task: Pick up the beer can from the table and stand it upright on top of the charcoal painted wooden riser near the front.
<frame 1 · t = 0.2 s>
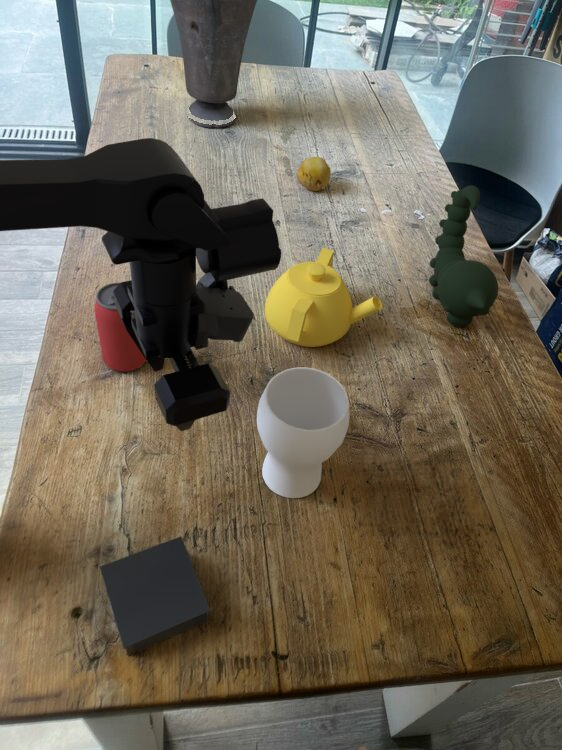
hand: (171, 398, 64), 14 cm above the table, tool pointing down, fingers open, 9 cm apart
toy figurine: (449, 300, 104), on the table
cup: (291, 473, 76), on the table
vase: (211, 117, 145), on the table
teapot: (318, 326, 96), on the table
beer can: (126, 358, 87), on the table
fruit: (311, 188, 126), on the table
riser: (156, 600, 63), on the table
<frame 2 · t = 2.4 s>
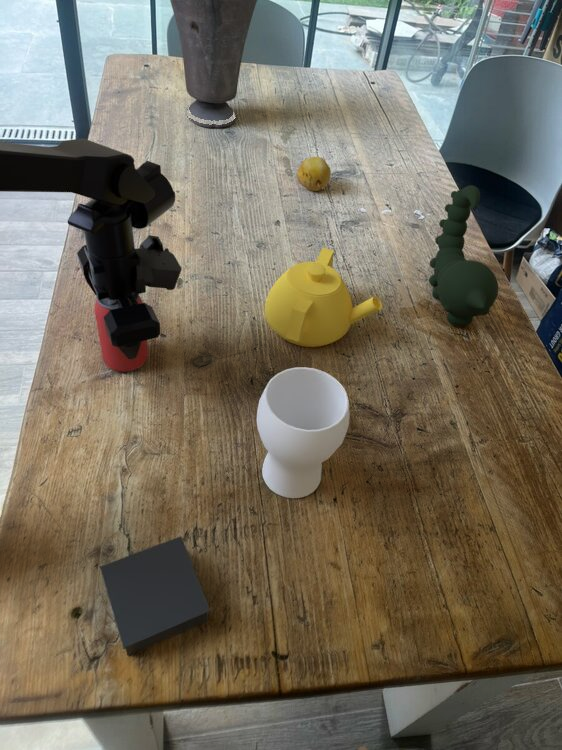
hand: (123, 336, 83), 4 cm above the table, tool pointing down
beer can: (126, 358, 87), on the table, touching gripper
everything else where it was.
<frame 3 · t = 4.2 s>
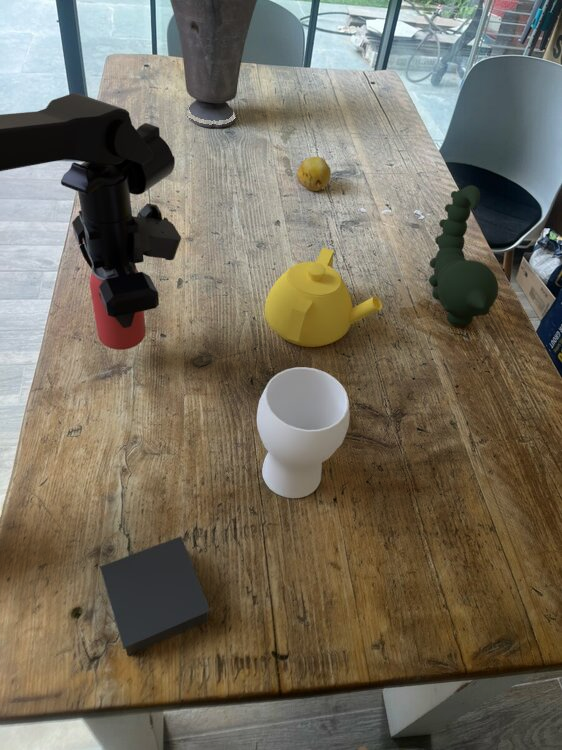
hand: (120, 311, 80), 9 cm above the table, tool pointing down, fingers closed on beer can, 6 cm apart
beer can: (122, 337, 83), point 4 cm above the table, touching gripper
everything else where it was.
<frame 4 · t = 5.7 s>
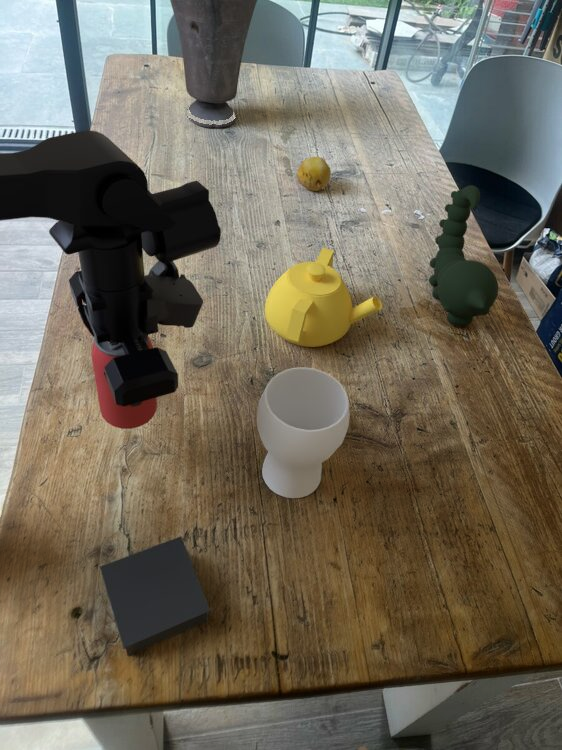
hand: (127, 383, 66), 13 cm above the table, tool pointing down, fingers closed on beer can, 6 cm apart
beer can: (129, 411, 70), point 8 cm above the table, touching gripper
everything else where it was.
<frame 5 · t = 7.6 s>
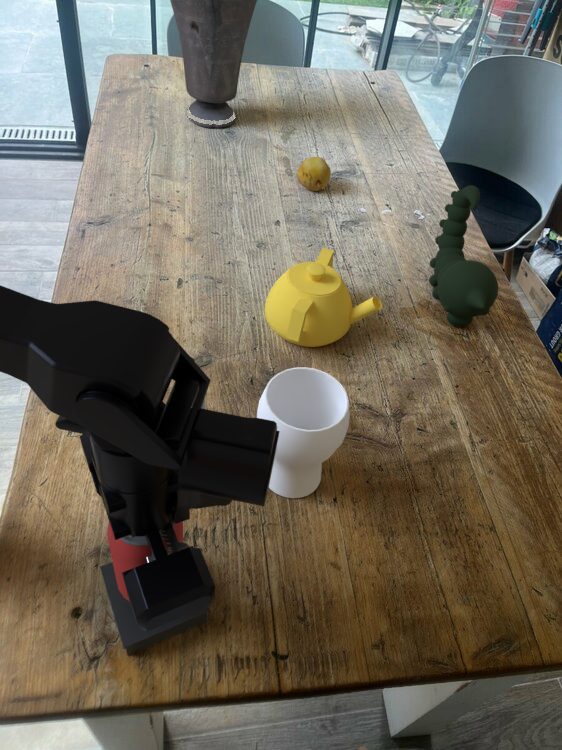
hand: (148, 555, 55), 11 cm above the table, tool pointing down, fingers closed on beer can, 6 cm apart
beer can: (150, 577, 58), point 6 cm above the table, touching gripper
everything else where it was.
when the fingers open (8 cm above the table, at t = 8.9 s): beer can stays where it is, resting on riser.
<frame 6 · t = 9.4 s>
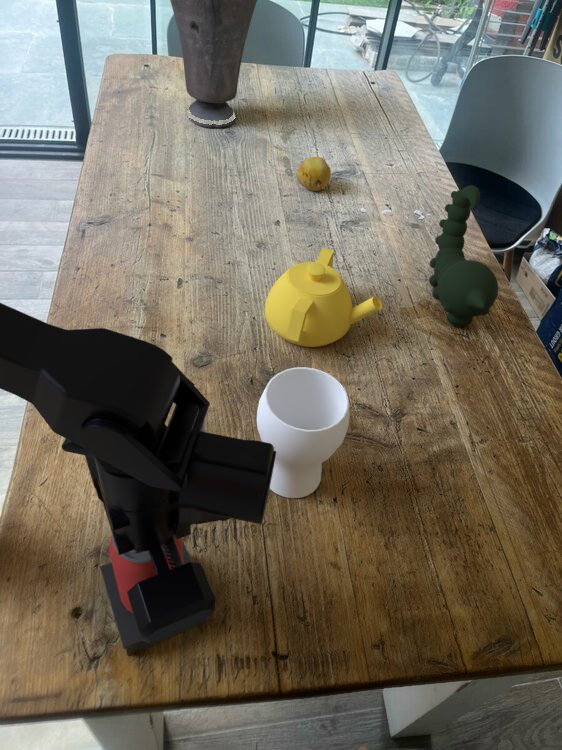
hand: (151, 567, 57), 8 cm above the table, tool pointing down, fingers open, 9 cm apart
beer can: (152, 589, 60), point 3 cm above the table, touching riser
everything else where it was.
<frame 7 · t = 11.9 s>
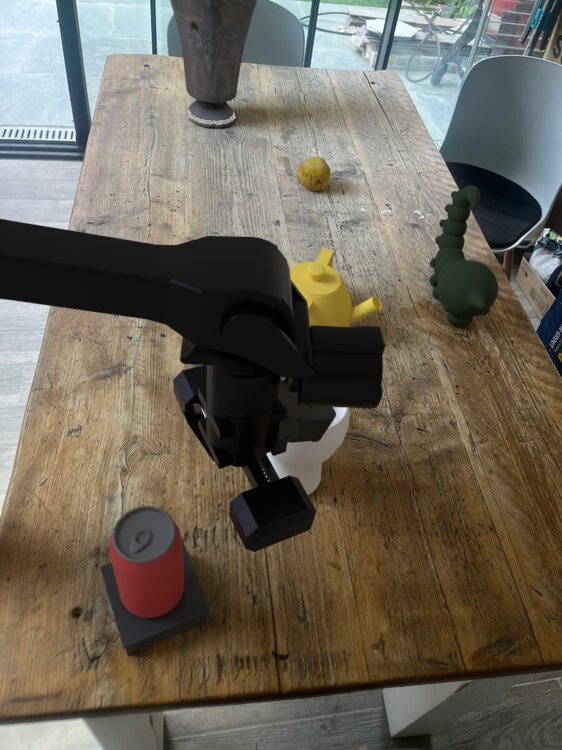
hand: (235, 495, 58), 13 cm above the table, tool pointing down, fingers open, 9 cm apart
nothing on the table moved.
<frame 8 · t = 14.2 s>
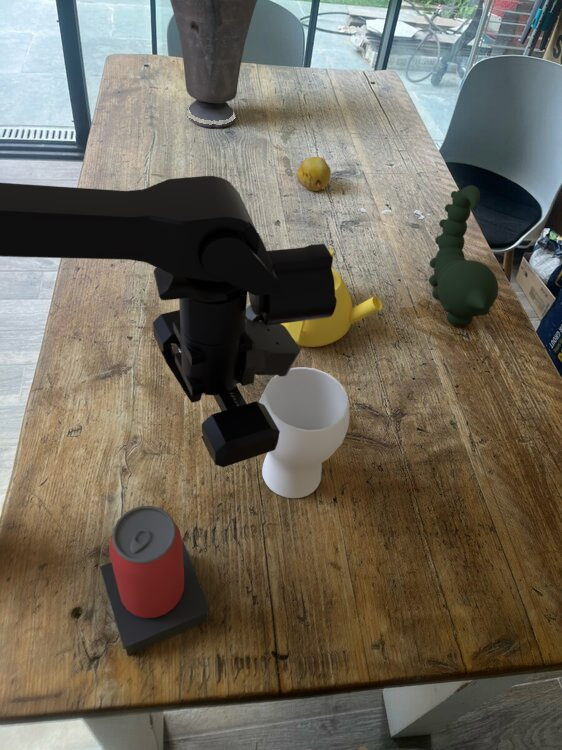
hand: (210, 431, 63), 13 cm above the table, tool pointing down, fingers open, 9 cm apart
nothing on the table moved.
at the end: beer can 0.2 cm off-centre on the riser, point 3.0 cm above the riser's base; beer can tilted 0°; the gripper is holding nothing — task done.
